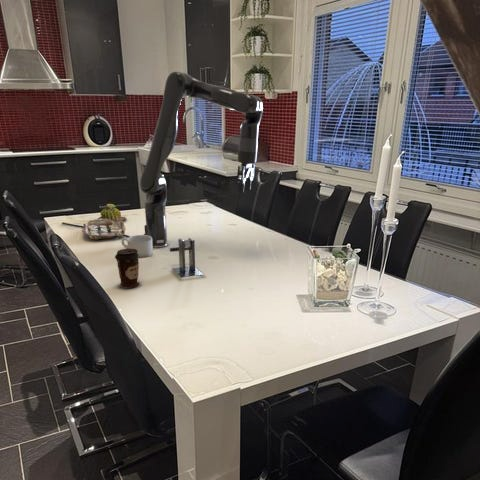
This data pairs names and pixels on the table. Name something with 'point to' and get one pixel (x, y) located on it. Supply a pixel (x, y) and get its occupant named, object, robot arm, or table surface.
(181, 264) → the bracket
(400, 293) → the table surface
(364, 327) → the table surface
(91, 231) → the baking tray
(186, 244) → the lever
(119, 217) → the cactus
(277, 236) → the table surface
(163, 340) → the table surface
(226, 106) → the robot arm
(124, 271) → the coffee cup
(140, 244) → the teacup
